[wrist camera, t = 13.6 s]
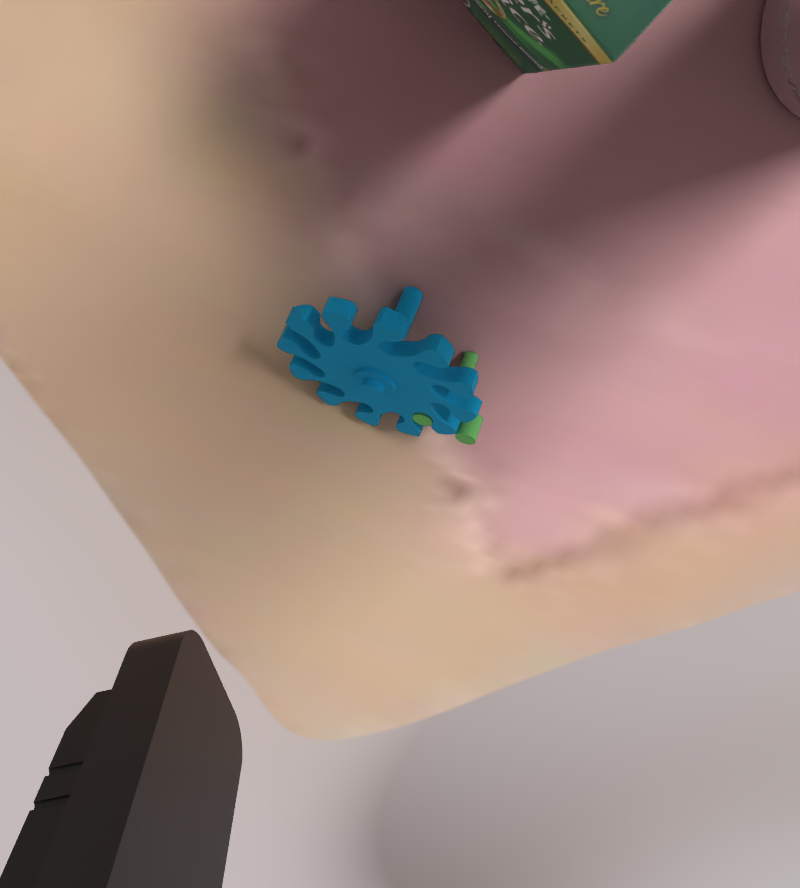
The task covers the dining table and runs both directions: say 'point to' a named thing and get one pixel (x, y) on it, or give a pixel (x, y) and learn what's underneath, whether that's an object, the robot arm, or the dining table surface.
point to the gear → (385, 367)
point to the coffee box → (564, 29)
